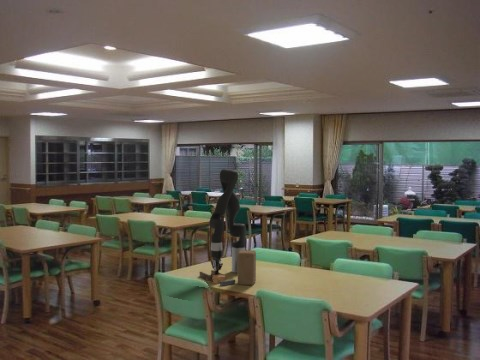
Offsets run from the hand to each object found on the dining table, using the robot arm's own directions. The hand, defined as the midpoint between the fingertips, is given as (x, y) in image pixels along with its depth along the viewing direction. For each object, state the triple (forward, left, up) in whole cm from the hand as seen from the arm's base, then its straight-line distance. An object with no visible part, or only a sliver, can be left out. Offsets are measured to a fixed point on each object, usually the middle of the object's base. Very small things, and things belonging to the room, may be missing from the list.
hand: (216, 276), depth 306 cm
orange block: (+1, +4, -3) cm, 5 cm away
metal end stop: (0, +14, -2) cm, 14 cm away
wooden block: (-12, +17, -3) cm, 21 cm away
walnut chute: (0, -7, -2) cm, 7 cm away
